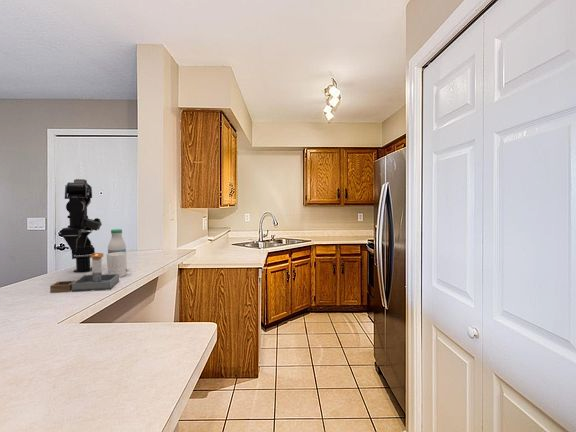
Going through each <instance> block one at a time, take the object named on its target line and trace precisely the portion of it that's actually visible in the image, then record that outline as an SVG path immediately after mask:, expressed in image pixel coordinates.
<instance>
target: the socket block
mask: <svg viewBox="0 0 576 432" xmlns="http://www.w3.org/2000/svg"><path fill="white" fill-rule="evenodd" d="M75 281H76V280H66V281H63V280H62V281H60V280H59V281H58V280H57V281H56V282H54V283H53V284H51V285H50V286H49V288H50V289H49V293H50V294H52V293H69V292H72V283H74V282H75Z"/></svg>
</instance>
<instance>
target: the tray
mask: <svg viewBox="0 0 576 432" xmlns="http://www.w3.org/2000/svg"><path fill="white" fill-rule="evenodd" d="M74 281H75V282H74V283H72V291H71V292H72V293H74V292H89V291H90V292H91V290H95V291H106V290H105V289H110V290H112V288H114V286H116V285H117V284H118V282H120V277H119V274H102V275H101V282H92V274H90V275H89V274H87V275H86V274H85V275H82V276H80V278H78V279H77V280H74Z"/></svg>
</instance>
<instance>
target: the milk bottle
mask: <svg viewBox="0 0 576 432" xmlns="http://www.w3.org/2000/svg"><path fill="white" fill-rule="evenodd" d="M110 235H111V238H110V241H109V242H108V245H107V254H109V253H116V252H124V253H126V254H127V247H126V246H127V245H126V242H125V240H124V238H123V236H122V235H123V229H122V228H115V229H114V228H113V229H111V230H110ZM127 269H128V268H127V264H126V271H127Z"/></svg>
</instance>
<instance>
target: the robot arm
mask: <svg viewBox="0 0 576 432" xmlns="http://www.w3.org/2000/svg"><path fill="white" fill-rule="evenodd" d="M87 181H88V180H87V179H84V178H83V179H82V178H81V179H80V178H77V179H76V178H75V179H74V180H73V182H67V184H66V185H64V187H65V188H64V199H65V200H68V201H67V202H66V205H65V208H66V209H65V210H66V211H67V212H68V213H69V214H68V215H67V219H68V220H69V225H67V227H63V228H61V230H60V231H59V232H60V236H61V237H62V238H63V239H64V241H65V242H66V243H67V245H68V247H69V248H70V250H71V259H72V260H75V268H76V269H74V270H73V273H81V272H84V273H85V272H91V271H92V267H91V259H92V257H90V255H91V254H93V253H96V251H95V247H94V245H93V244H92V241H91V240H90V239H89V237H88V236H89V235H90V234H92V233H93V231H99V230H100V228H101V226H102V222H101V219H100V218H98V217H96V218H93V219H92V218H91V219H90V218H89V215H88V206H89V205H90V204H91V202H92V200H91V199H92V198H93V189H92V188H93V187H92V186H91V185H90V184H89V183H88V182H87Z"/></svg>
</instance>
